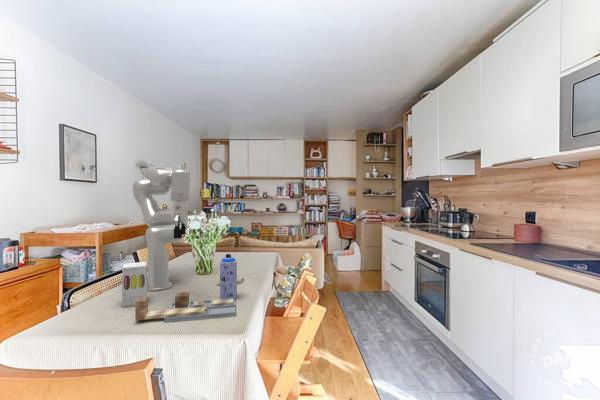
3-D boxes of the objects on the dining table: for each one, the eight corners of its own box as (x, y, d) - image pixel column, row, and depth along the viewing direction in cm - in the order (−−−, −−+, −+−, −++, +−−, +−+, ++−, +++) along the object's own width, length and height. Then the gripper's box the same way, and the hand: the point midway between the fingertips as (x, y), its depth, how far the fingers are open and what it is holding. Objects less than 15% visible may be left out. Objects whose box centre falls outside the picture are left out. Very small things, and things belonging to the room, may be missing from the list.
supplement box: (121, 307, 121) (121, 267, 121) (123, 300, 129) (122, 263, 129) (147, 303, 126) (147, 265, 125) (147, 297, 134) (147, 260, 134)
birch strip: (135, 320, 106) (135, 301, 106) (139, 315, 111) (139, 296, 111) (206, 314, 112) (206, 296, 112) (207, 309, 117) (207, 292, 117)
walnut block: (174, 308, 117) (174, 296, 117) (177, 304, 122) (177, 292, 122) (187, 307, 118) (187, 295, 118) (189, 303, 123) (189, 291, 123)
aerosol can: (216, 297, 134) (216, 254, 134) (231, 293, 139) (231, 251, 139) (225, 301, 128) (225, 256, 128) (240, 297, 134) (240, 254, 134)
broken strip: (192, 308, 119) (192, 305, 119) (193, 304, 123) (193, 301, 123) (233, 305, 122) (233, 302, 122) (233, 301, 127) (233, 298, 127)
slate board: (164, 322, 107) (163, 318, 107) (172, 306, 123) (172, 303, 123) (235, 316, 113) (235, 312, 113) (235, 301, 129) (235, 298, 129)
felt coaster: (173, 310, 116) (173, 309, 116) (175, 305, 122) (175, 303, 122) (188, 309, 118) (188, 307, 118) (190, 303, 123) (190, 302, 123)
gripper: (186, 199, 121) (185, 239, 121) (191, 197, 138) (191, 233, 138) (166, 198, 119) (166, 240, 120) (174, 197, 136) (174, 233, 137)
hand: (179, 236), depth 129 cm, fingers open, 9 cm apart
